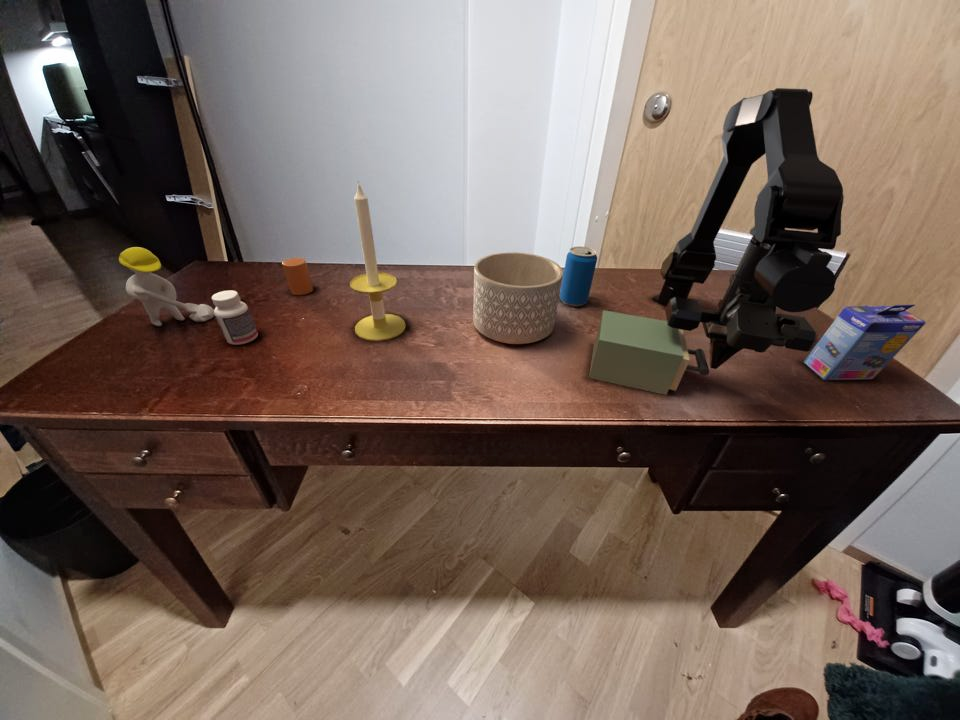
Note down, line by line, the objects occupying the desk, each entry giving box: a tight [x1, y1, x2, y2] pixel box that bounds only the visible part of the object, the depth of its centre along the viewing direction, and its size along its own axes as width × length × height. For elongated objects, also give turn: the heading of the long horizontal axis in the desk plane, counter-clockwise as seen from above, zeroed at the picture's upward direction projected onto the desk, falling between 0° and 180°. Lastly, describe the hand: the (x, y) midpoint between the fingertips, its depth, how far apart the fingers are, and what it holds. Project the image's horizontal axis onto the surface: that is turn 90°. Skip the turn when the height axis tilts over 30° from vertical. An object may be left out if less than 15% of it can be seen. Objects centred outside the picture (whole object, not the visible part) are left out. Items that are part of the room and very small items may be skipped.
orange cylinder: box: [282, 257, 314, 296], centre depth 83 cm, size 5×5×7 cm
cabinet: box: [588, 309, 684, 396], centre depth 62 cm, size 12×10×8 cm
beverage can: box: [559, 246, 598, 307], centre depth 82 cm, size 6×6×12 cm
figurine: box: [118, 246, 215, 327], centre depth 69 cm, size 10×9×15 cm
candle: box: [349, 181, 407, 342], centre depth 65 cm, size 10×10×27 cm
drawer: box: [669, 329, 710, 391], centre depth 62 cm, size 15×9×6 cm, turn 71°
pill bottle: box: [211, 289, 259, 346], centre depth 66 cm, size 5×5×9 cm
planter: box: [472, 251, 564, 345], centre depth 71 cm, size 16×16×13 cm
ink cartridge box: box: [803, 303, 927, 381], centre depth 62 cm, size 10×6×14 cm, turn 95°
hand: (712, 367), depth 60 cm, fingers closed
